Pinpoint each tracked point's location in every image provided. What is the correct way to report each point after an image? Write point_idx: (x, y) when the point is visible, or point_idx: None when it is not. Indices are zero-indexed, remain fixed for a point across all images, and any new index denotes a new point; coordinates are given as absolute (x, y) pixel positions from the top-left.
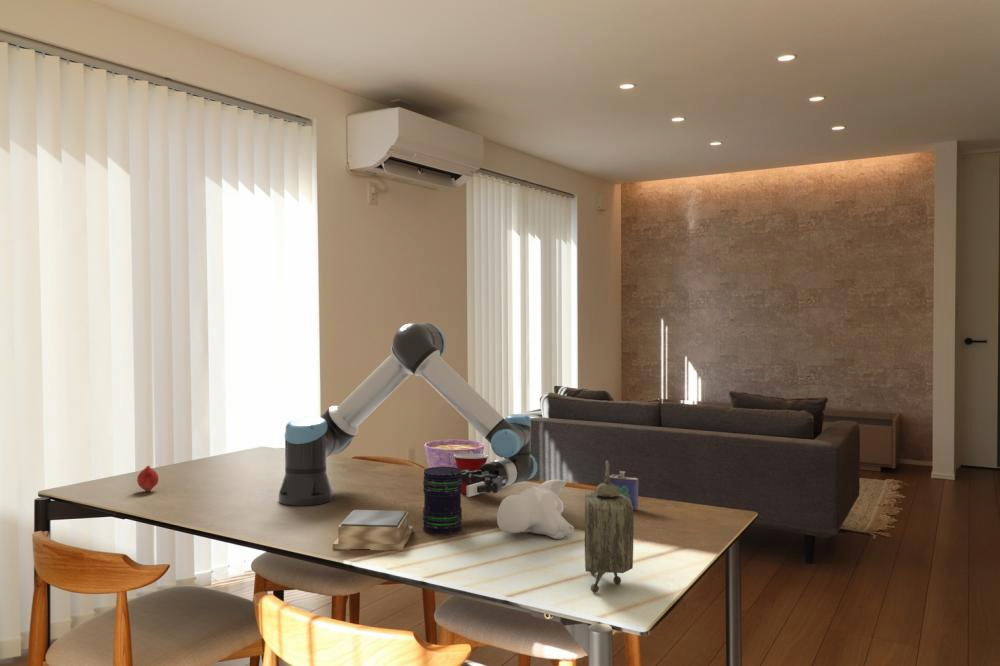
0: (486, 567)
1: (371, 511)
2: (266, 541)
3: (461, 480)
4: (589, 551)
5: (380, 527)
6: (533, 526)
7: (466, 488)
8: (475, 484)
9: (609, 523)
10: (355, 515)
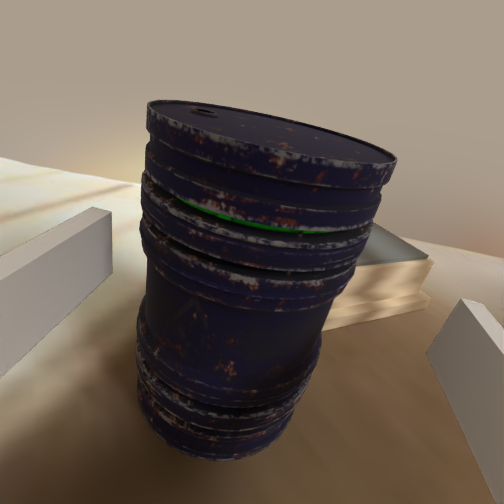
0: (19, 202)
1: (385, 251)
2: (432, 245)
3: (157, 194)
4: None
5: None
6: None
7: (111, 227)
8: (37, 236)
9: None
10: (376, 230)
